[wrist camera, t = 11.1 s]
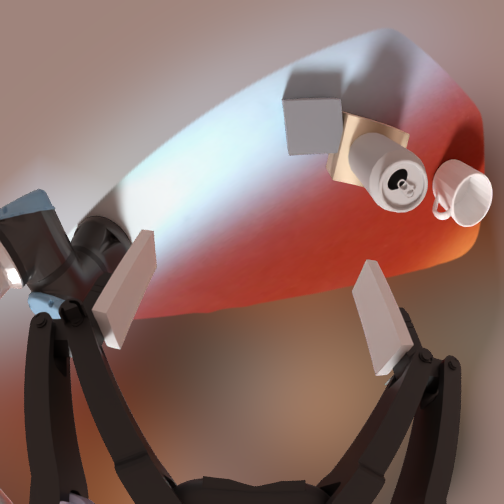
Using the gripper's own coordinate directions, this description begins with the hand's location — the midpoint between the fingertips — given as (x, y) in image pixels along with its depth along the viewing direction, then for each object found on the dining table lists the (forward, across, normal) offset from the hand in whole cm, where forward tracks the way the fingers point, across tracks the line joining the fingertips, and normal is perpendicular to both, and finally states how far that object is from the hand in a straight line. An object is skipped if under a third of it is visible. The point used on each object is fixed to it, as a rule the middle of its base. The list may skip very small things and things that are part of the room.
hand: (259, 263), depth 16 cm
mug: (+29, +36, +2) cm, 46 cm away
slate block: (+30, +7, +5) cm, 31 cm away
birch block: (+30, +16, +3) cm, 34 cm away
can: (+24, +15, +3) cm, 29 cm away
